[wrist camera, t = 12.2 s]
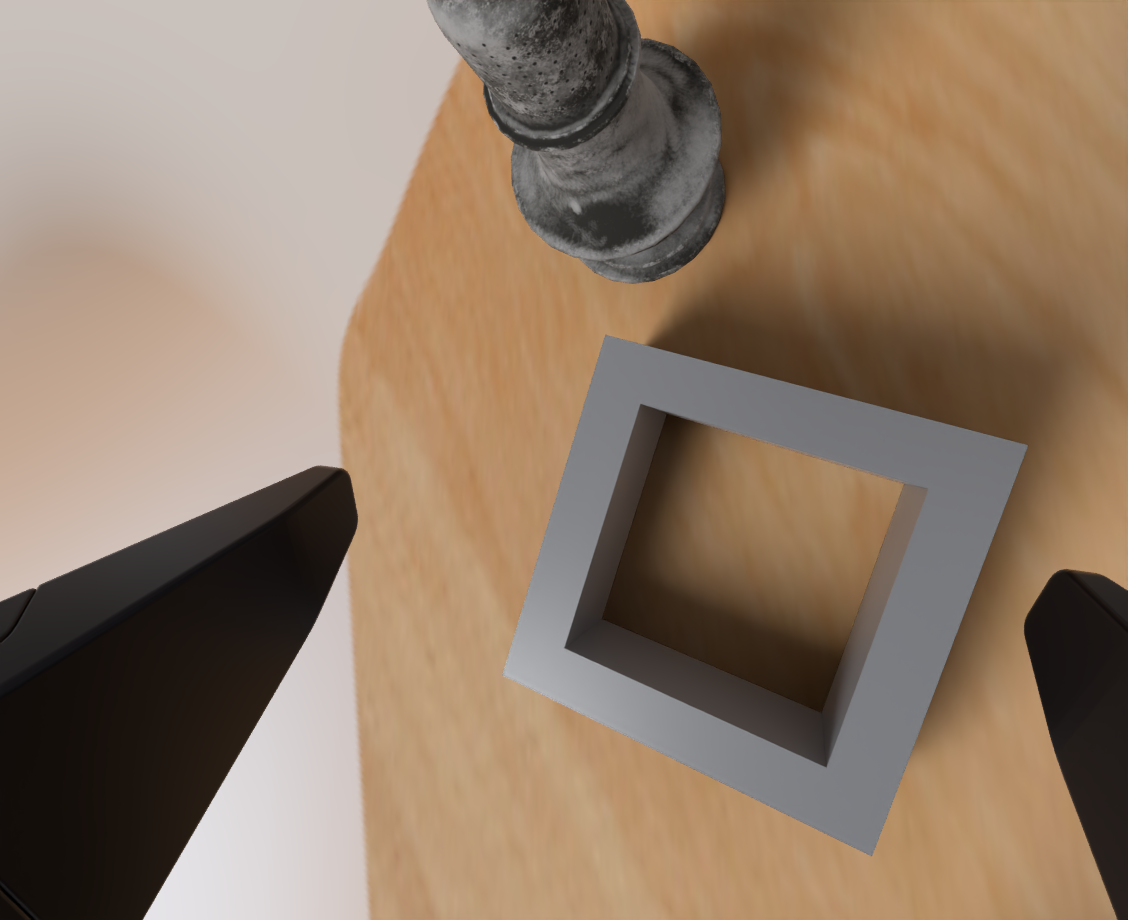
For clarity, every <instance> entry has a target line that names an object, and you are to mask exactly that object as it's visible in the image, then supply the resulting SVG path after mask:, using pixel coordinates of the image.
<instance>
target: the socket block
mask: <svg viewBox="0 0 1128 920" xmlns="http://www.w3.org/2000/svg"><path fill="white" fill-rule="evenodd" d="M666 414H670V415H673V416H676V417H680V418H683V419H686V420H690V421H693V422H697V423H700V424H703V425H707V426H710V427H713V428H717V429H720V430H724V431H727V432H730V433H734V434H737V435H740V436H744V437H747V438H751V439H754V440H757V441H761V442H764V443H767V444H771V445H774V446H778V447H781V448H784V449H788V450H791V451H794V452H798V453H801V454H805V455H808V456H811V457H815V458H818V459H821V460H825V461H828V462H832V463H835V464H838V465H842V466H845V467H848V468H852V469H855V470H859V471H862V472H865V473H869V474H872V475H875V476H879V477H882V478H886V479H889V480H892V481H896V482H899V483H902V484H904V487H903V489H902V492H901V495H900V498H899V500H898V503H897V506H896V509H895V511H894V514H893V517H892V520H891V523H890V525H889V528H888V531H887V534H886V536H885V539H884V542H883V545H882V547H881V550H880V553H879V556H878V558H877V561H876V564H875V567H874V570H873V572H872V575H871V578H870V581H869V583H868V586H867V589H866V592H865V594H864V597H863V600H862V603H861V605H860V608H859V611H858V614H857V617H856V619H855V622H854V625H853V628H852V630H851V633H850V636H849V639H848V641H847V644H846V647H845V650H844V652H843V655H842V658H841V661H840V664H839V666H838V669H837V672H836V675H835V677H834V680H833V683H832V686H831V688H830V691H829V694H828V697H827V699H826V702H825V705H824V708H823V711H822V713H821V712H818V711H816V710H814V709H811V708H809V707H807V706H804V705H802V704H800V703H797V702H795V701H792V700H790V699H788V698H785V697H783V696H781V695H778V694H776V693H774V692H771V691H769V690H767V689H764V688H762V687H760V686H757V685H755V684H753V683H750V682H748V681H746V680H743V679H741V678H739V677H736V676H734V675H732V674H729V673H727V672H725V671H722V670H720V669H718V668H715V667H713V666H711V665H708V664H706V663H704V662H701V661H699V660H697V659H694V658H692V657H690V656H687V655H685V654H683V653H680V652H678V651H676V650H673V649H671V648H669V647H666V646H664V645H662V644H659V643H657V642H655V641H652V640H650V639H648V638H645V637H643V636H641V635H638V634H636V633H634V632H631V631H629V630H627V629H624V628H622V627H620V626H617V625H615V624H613V623H610V622H608V621H606V620H603V619H602V616H603V613H604V610H605V607H606V604H607V600H608V597H609V594H610V591H611V588H612V585H613V582H614V578H615V575H616V572H617V569H618V566H619V563H620V559H621V556H622V553H623V550H624V547H625V544H626V541H627V537H628V534H629V531H630V528H631V525H632V522H633V518H634V515H635V512H636V509H637V506H638V503H639V500H640V496H641V493H642V490H643V487H644V484H645V481H646V477H647V474H648V471H649V468H650V465H651V462H652V459H653V455H654V452H655V449H656V446H657V443H658V440H659V436H660V433H661V430H662V427H663V424H664V421H665V418H666ZM1027 447H1028V445H1026V444H1022V443H1018V442H1014V441H1010V440H1006V439H1003V438H999V437H995V436H991V435H987V434H983V433H980V432H976V431H972V430H968V429H964V428H960V427H957V426H953V425H949V424H945V423H941V422H937V421H934V420H930V419H926V418H922V417H918V416H914V415H911V414H907V413H903V412H899V411H895V410H891V409H888V408H884V407H880V406H876V405H872V404H868V403H865V402H861V401H857V400H853V399H849V398H845V397H842V396H838V395H834V394H830V393H826V392H822V391H818V390H815V389H811V388H807V387H803V386H799V385H795V384H792V383H788V382H784V381H780V380H776V379H772V378H769V377H765V376H761V375H757V374H753V373H749V372H746V371H742V370H738V369H734V368H730V367H726V366H723V365H719V364H715V363H711V362H707V361H703V360H700V359H696V358H692V357H688V356H684V355H680V354H677V353H673V352H669V351H665V350H661V349H657V348H654V347H650V346H646V345H642V344H638V343H634V342H631V341H627V340H623V339H619V338H615V337H611V336H608V335H605V338H604V341H603V344H602V348H601V351H600V354H599V357H598V361H597V364H596V367H595V371H594V374H593V377H592V381H591V384H590V387H589V391H588V394H587V397H586V400H585V404H584V407H583V410H582V414H581V417H580V420H579V424H578V427H577V430H576V433H575V437H574V440H573V443H572V447H571V450H570V453H569V457H568V460H567V463H566V467H565V470H564V473H563V476H562V480H561V483H560V486H559V490H558V493H557V496H556V500H555V503H554V506H553V509H552V513H551V516H550V519H549V523H548V526H547V529H546V533H545V536H544V539H543V543H542V546H541V549H540V552H539V556H538V559H537V562H536V566H535V569H534V572H533V576H532V579H531V582H530V585H529V589H528V592H527V595H526V599H525V602H524V605H523V609H522V612H521V615H520V619H519V622H518V625H517V628H516V632H515V635H514V638H513V642H512V645H511V648H510V652H509V655H508V658H507V661H506V665H505V668H504V671H503V676H505V677H507V678H509V679H511V680H513V681H515V682H517V683H519V684H521V685H523V686H525V687H527V688H529V689H531V690H533V691H535V692H537V693H539V694H542V695H544V696H546V697H548V698H550V699H552V700H554V701H556V702H558V703H560V704H562V705H564V706H566V707H568V708H570V709H572V710H574V711H576V712H578V713H580V714H582V715H584V716H586V717H588V718H591V719H593V720H595V721H597V722H599V723H601V724H603V725H605V726H607V727H609V728H611V729H613V730H615V731H617V732H619V733H621V734H623V735H625V736H627V737H629V738H631V739H633V740H635V741H637V742H639V743H642V744H644V745H646V746H648V747H650V748H652V749H654V750H656V751H658V752H660V753H662V754H664V755H666V756H668V757H670V758H672V759H674V760H676V761H678V762H680V763H682V764H684V765H686V766H688V767H690V768H693V769H695V770H697V771H699V772H701V773H703V774H705V775H707V776H709V777H711V778H713V779H715V780H717V781H719V782H721V783H723V784H725V785H727V786H729V787H731V788H733V789H735V790H737V791H739V792H741V793H744V794H746V795H748V796H750V797H752V798H754V799H756V800H758V801H760V802H762V803H764V804H766V805H768V806H770V807H772V808H774V809H776V810H778V811H780V812H782V813H784V814H786V815H788V816H790V817H792V818H795V819H797V820H799V821H801V822H803V823H805V824H807V825H809V826H811V827H813V828H815V829H817V830H819V831H821V832H823V833H825V834H827V835H829V836H831V837H833V838H835V839H837V840H839V841H841V842H844V843H846V844H848V845H850V846H852V847H854V848H856V849H858V850H860V851H862V852H864V853H866V854H868V855H870V856H872V855H873V852H874V850H875V847H876V844H877V842H878V839H879V836H880V834H881V831H882V828H883V826H884V823H885V821H886V818H887V815H888V813H889V810H890V807H891V805H892V802H893V800H894V797H895V794H896V792H897V789H898V786H899V784H900V781H901V779H902V776H903V773H904V771H905V768H906V765H907V763H908V760H909V758H910V755H911V752H912V750H913V747H914V744H915V742H916V739H917V736H918V734H919V731H920V729H921V726H922V723H923V721H924V718H925V715H926V713H927V710H928V708H929V705H930V702H931V700H932V697H933V694H934V692H935V689H936V687H937V684H938V681H939V679H940V676H941V673H942V671H943V668H944V666H945V663H946V660H947V658H948V655H949V652H950V650H951V647H952V645H953V642H954V639H955V637H956V634H957V631H958V629H959V626H960V623H961V621H962V618H963V616H964V613H965V610H966V608H967V605H968V602H969V600H970V597H971V595H972V592H973V589H974V587H975V584H976V581H977V579H978V576H979V574H980V571H981V568H982V566H983V563H984V560H985V558H986V555H987V553H988V550H989V547H990V545H991V542H992V539H993V537H994V534H995V531H996V529H997V526H998V524H999V521H1000V518H1001V516H1002V513H1003V510H1004V508H1005V505H1006V503H1007V500H1008V497H1009V495H1010V492H1011V489H1012V487H1013V484H1014V482H1015V479H1016V476H1017V474H1018V471H1019V468H1020V466H1021V463H1022V461H1023V458H1024V455H1025V453H1026V450H1027Z"/></svg>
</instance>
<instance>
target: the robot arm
mask: <svg viewBox="0 0 1128 920" xmlns="http://www.w3.org/2000/svg"><path fill="white" fill-rule="evenodd" d="M357 524H358V514H357V509H356V503H355V498H354V493H353V488H352V483H351V478H350V475H349V474H348V472H347V471H346V470H344V469H342V468H335V467H328V466H315V467H312V468H310V469H307V470H305V471H303V472H300V473H298V474H296V475H293V476H291V477H289V478H286V479H284V480H282V481H279V482H277V483H275V484H273V485H270V486H268V487H266V488H263V489H261V490H259V491H256V492H254V493H252V494H250V495H247V496H245V497H242V498H240V499H238V500H235V501H233V502H231V503H228V504H226V505H224V506H222V507H219V508H217V509H215V510H212V511H210V512H208V513H205V514H203V515H201V516H198V517H196V518H194V519H191V520H189V521H187V522H184V523H182V524H180V525H177V526H175V527H173V528H170V529H168V530H166V531H164V532H162V533H159V534H157V535H155V536H152V537H150V538H147V539H145V540H143V541H140V542H138V543H136V544H133V545H131V546H129V547H126V548H124V549H122V550H120V551H117V552H115V553H112V554H110V555H108V556H105V557H103V558H101V559H99V560H96V561H94V562H92V563H90V564H87V565H85V566H83V567H80V568H78V569H75V570H73V571H71V572H69V573H66V574H64V575H61V576H59V577H57V578H54V579H52V580H50V581H47V582H45V583H43V584H41V585H39V587H38V588H37V590H36V589H33V588H32V589H29V590H26V591H24V592H22V593H19V594H17V595H15V596H13V597H10V598H8V599H6V600H3V601H1V602H0V920H143V919H144V917H145V915H146V913H147V912H148V910H149V908H150V907H151V905H152V903H153V901H154V900H155V898H156V896H157V894H158V893H159V891H160V889H161V888H162V886H163V884H164V882H165V881H166V879H167V877H168V876H169V874H170V872H171V870H172V869H173V867H174V865H175V863H176V862H177V860H178V858H179V857H180V855H181V853H182V852H183V850H184V848H185V846H186V845H187V843H188V841H189V839H190V838H191V836H192V834H193V833H194V831H195V829H196V827H197V826H198V824H199V822H200V820H201V819H202V817H203V815H204V814H205V812H206V810H207V808H208V807H209V805H210V803H211V801H212V800H213V798H214V797H215V795H216V793H217V791H218V790H219V788H220V786H221V784H222V783H223V781H224V779H225V778H226V776H227V774H228V772H229V771H230V769H231V767H232V765H233V764H234V762H235V760H236V759H237V757H238V755H239V754H240V752H241V750H242V748H243V747H244V745H245V743H246V742H247V740H248V738H249V736H250V735H251V733H252V731H253V730H254V728H255V726H256V724H257V723H258V721H259V719H260V718H261V716H262V714H263V712H264V711H265V709H266V707H267V705H268V704H269V702H270V700H271V698H272V697H273V695H274V693H275V692H276V690H277V688H278V686H279V685H280V683H281V681H282V680H283V678H284V676H285V675H286V673H287V671H288V669H289V668H290V666H291V664H292V662H293V661H294V659H295V657H296V655H297V654H298V652H299V650H300V649H301V647H302V645H303V644H304V642H305V640H306V638H307V637H308V635H309V633H310V631H311V629H312V628H313V626H314V624H315V622H316V620H317V618H318V616H319V613H320V611H321V609H322V607H323V605H324V602H325V600H326V598H327V596H328V593H329V591H330V589H331V587H332V584H333V582H334V580H335V578H336V575H337V573H338V571H339V568H340V566H341V564H342V562H343V560H344V557H345V555H346V553H347V551H348V548H349V546H350V544H351V542H352V539H353V537H354V535H355V532H356V529H357ZM1024 635H1025V640H1026V644H1027V648H1028V652H1029V655H1030V659H1031V663H1032V667H1033V671H1034V675H1035V679H1036V683H1037V687H1038V691H1039V695H1040V698H1041V702H1042V706H1043V710H1044V714H1045V718H1046V722H1047V726H1048V730H1049V734H1050V737H1051V740H1052V744H1053V747H1054V751H1055V754H1056V757H1057V760H1058V763H1059V766H1060V769H1061V771H1062V774H1063V777H1064V780H1065V782H1066V785H1067V788H1068V790H1069V793H1070V796H1071V798H1072V801H1073V804H1074V806H1075V809H1076V812H1077V814H1078V817H1079V819H1080V822H1081V825H1082V827H1083V830H1084V833H1085V835H1086V838H1087V841H1088V843H1089V846H1090V848H1091V851H1092V854H1093V856H1094V859H1095V862H1096V864H1097V867H1098V870H1099V872H1100V875H1101V877H1102V880H1103V883H1104V885H1105V888H1106V891H1107V893H1108V896H1109V899H1110V901H1111V904H1112V907H1113V909H1114V912H1115V914H1116V917H1117V920H1128V590H1126V589H1124V588H1123V587H1121V586H1120V585H1118V584H1117V583H1115V582H1113V581H1112V580H1110V579H1109V578H1107V577H1105V576H1103V575H1100V574H1097V573H1091V572H1084V571H1076V570H1069V569H1064V570H1059V571H1057V572H1056V573H1055V574H1053V575H1052V577H1051V578H1050V579H1049V581H1048V582H1047V584H1046V586H1045V587H1044V589H1043V590H1042V592H1041V594H1040V595H1039V597H1038V598H1037V600H1036V602H1035V603H1034V605H1033V606H1032V608H1031V609H1030V611H1029V613H1028V614H1027V617H1026V620H1025V624H1024Z"/></svg>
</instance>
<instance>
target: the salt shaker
mask: <svg viewBox="0 0 1128 920" xmlns="http://www.w3.org/2000/svg"><path fill="white" fill-rule="evenodd" d="M427 2H428V6H429V9H430V11H431V13H432V15H433V17H434V19H435V21H436V23H437V25H438V26H439V28H440V29H441V31H442V32H443V34H444V36H445V37H446V38H447V39H448V41H449V42H450V43H451V44H452V45H453V47H454V48H455V49H456V50H457V51H458V53H459V54H460V55H461V56H462V57H463V59H464V60H465V61H466V62H467V63H468V65H469V66H470V67H471V68H472V69H473V71H474V72H475V73H476V74H477V75H478V77H479V78H480V79H481V80H482V81H483V95H484V98H485V102H486V105H487V108H488V112H489V114H490V116H491V118H492V119H493V121H494V122H495V124H496V126H497V127H498V129H499V130H500V131H501V132H502V133H503V134H504V135H505V136H507V137H508V138H509V139H510V140H511V141H512V142H514V146H513V151H512V155H511V173H512V186H513V190H514V194H515V197H516V201H517V204H518V208H519V210H520V211H521V213H522V215H523V216H524V218H525V220H526V221H527V223H528V224H529V226H530V228H531V229H532V230H533V231H534V232H535V233H536V234H537V235H538V236H539V237H541V238H542V239H543V240H544V241H545V242H546V243H547V244H548V245H550V246H551V247H552V248H554V249H557V250H559V251H561V252H563V253H566V254H568V255H570V256H572V257H575V258H579V259H580V260H581V261H582V262H583V263H584V264H586V265H587V266H588V267H589V268H590V269H591V270H592V271H594V272H595V273H597V274H599V275H601V276H603V277H605V278H608V279H610V280H612V281H617V282H625V283H632V284H634V283H642V282H649V281H655V280H657V279H660V278H662V277H665V276H667V275H670V274H672V273H674V272H676V271H677V270H679V269H680V268H681V267H683V266H684V265H686V264H687V263H688V262H690V261H691V260H692V259H694V257H695V256H696V255H697V254H698V253H699V252H700V251H701V249H702V248H703V247H704V246H705V245H706V244H707V242H708V241H709V239H710V237H711V236H712V234H713V232H714V230H715V228H716V226H717V224H718V222H719V220H720V216H721V212H722V207H723V203H724V199H725V187H724V173H723V170H722V167H721V163H720V160H719V157H718V156H719V152H720V147H721V113H720V109H719V106H718V103H717V100H716V97H715V94H714V91H713V88H712V85H711V83H710V82H709V80H708V79H707V77H706V76H705V75H704V73H703V72H702V71H701V69H700V68H699V66H698V65H697V64H696V62H695V61H693V60H692V59H690V58H689V57H688V56H686V55H685V54H683V53H682V52H681V51H679V50H678V49H676V48H675V47H674V46H670V45H667V44H664V43H661V42H657V41H654V40H651V39H641V34H640V31H639V28H638V25H637V22H636V19H635V16H634V13H633V11H632V9H631V8H630V7H629V5H628V4H627V2H626V1H625V0H427Z"/></svg>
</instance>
